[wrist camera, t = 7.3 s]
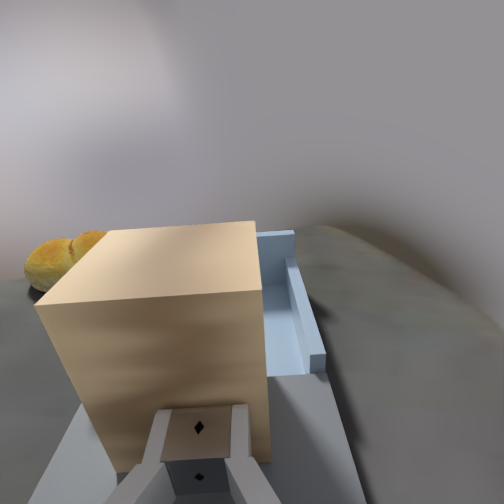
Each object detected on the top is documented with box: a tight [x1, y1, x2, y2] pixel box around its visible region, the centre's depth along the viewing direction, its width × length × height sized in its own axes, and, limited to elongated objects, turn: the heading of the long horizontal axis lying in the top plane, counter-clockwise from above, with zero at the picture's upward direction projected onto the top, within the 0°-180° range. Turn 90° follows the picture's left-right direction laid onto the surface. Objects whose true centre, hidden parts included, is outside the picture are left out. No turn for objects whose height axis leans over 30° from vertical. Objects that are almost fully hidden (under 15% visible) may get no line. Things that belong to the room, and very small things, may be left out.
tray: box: [256, 230, 326, 377], centre depth 20 cm, size 12×11×5 cm
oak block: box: [34, 221, 272, 473], centre depth 12 cm, size 6×5×8 cm
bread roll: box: [24, 231, 108, 292], centre depth 29 cm, size 8×9×4 cm
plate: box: [28, 373, 367, 504], centre depth 11 cm, size 12×9×2 cm
